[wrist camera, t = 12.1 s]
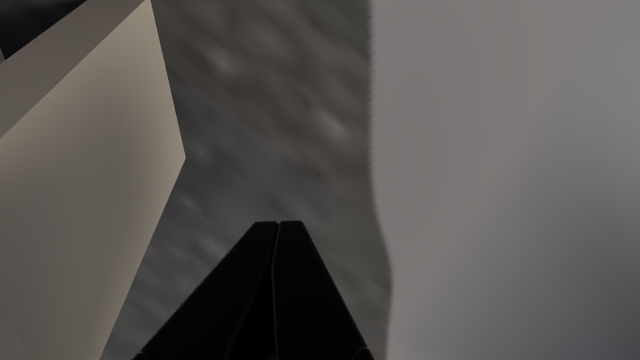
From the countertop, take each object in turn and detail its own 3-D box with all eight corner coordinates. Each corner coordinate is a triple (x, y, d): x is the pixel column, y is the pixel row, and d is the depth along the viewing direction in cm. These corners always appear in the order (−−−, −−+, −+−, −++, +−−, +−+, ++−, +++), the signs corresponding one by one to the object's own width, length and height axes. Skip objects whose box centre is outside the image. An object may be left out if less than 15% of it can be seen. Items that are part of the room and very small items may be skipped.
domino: (149, -5, 14) (-59, 194, 6) (185, 158, 17) (69, 428, 9) (89, -2, 14) (-184, 198, 7) (135, 160, 17) (-20, 429, 9)
